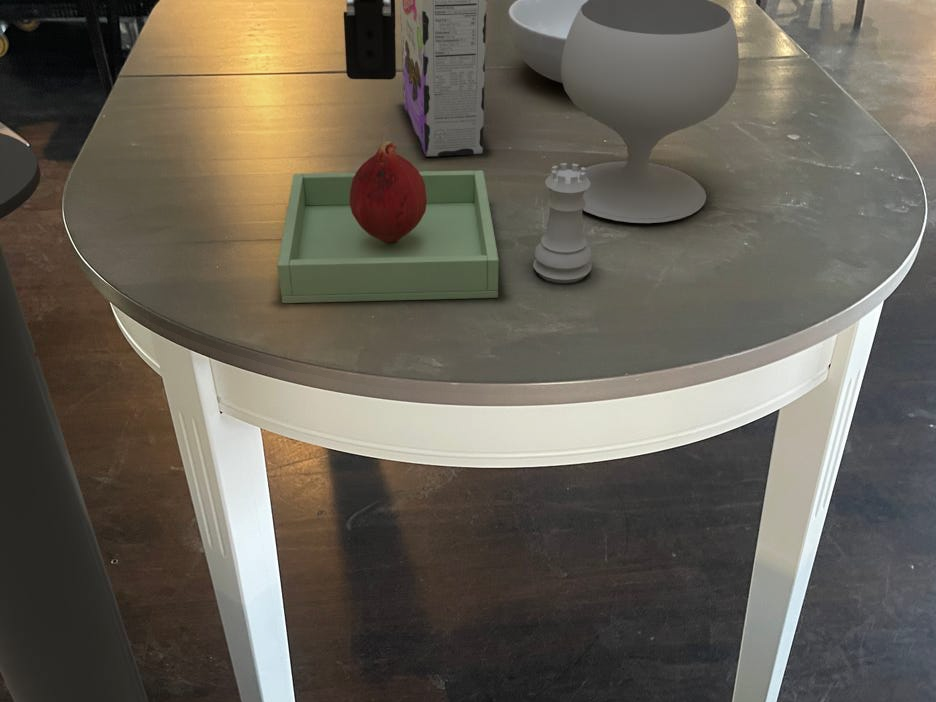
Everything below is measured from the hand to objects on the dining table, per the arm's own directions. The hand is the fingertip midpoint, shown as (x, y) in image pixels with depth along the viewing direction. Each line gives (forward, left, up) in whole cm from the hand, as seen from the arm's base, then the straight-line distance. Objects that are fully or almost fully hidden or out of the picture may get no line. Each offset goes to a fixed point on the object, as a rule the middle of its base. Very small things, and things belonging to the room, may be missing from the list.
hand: (372, 53), depth 70 cm
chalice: (+22, +9, -15) cm, 28 cm away
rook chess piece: (+14, -4, -15) cm, 21 cm away
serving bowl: (+24, +39, -15) cm, 48 cm away
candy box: (+6, +25, -15) cm, 30 cm away
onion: (+1, 0, -15) cm, 15 cm away
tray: (+1, 0, -15) cm, 15 cm away
